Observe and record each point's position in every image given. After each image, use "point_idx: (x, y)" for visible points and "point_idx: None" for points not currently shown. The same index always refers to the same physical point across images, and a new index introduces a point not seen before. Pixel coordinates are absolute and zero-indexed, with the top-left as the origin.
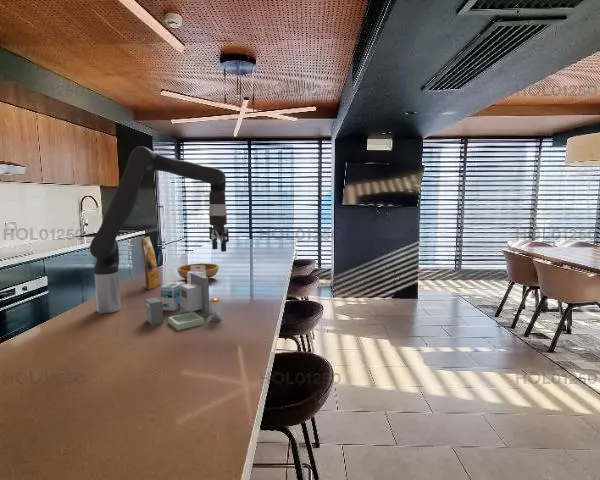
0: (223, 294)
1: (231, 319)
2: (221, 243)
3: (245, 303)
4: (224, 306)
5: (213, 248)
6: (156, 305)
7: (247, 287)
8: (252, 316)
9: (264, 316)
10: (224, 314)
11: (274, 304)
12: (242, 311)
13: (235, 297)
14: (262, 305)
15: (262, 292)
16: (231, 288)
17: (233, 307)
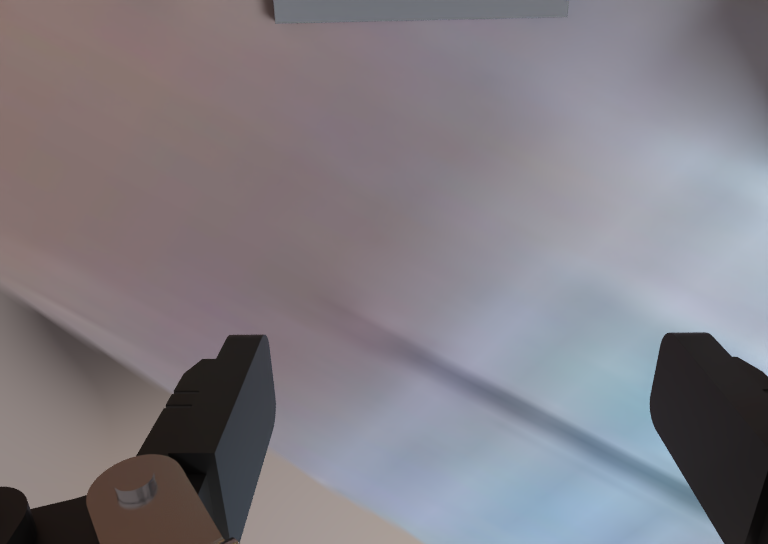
0: (673, 271)
1: (94, 46)
2: (185, 459)
3: (363, 285)
4: (396, 142)
5: (672, 345)
6: None
7: None
8: (85, 189)
9: (50, 245)
10: (223, 56)
11: None
12: (215, 188)
13: (537, 300)
14: None
15: (506, 473)
16: None
17: (333, 182)
